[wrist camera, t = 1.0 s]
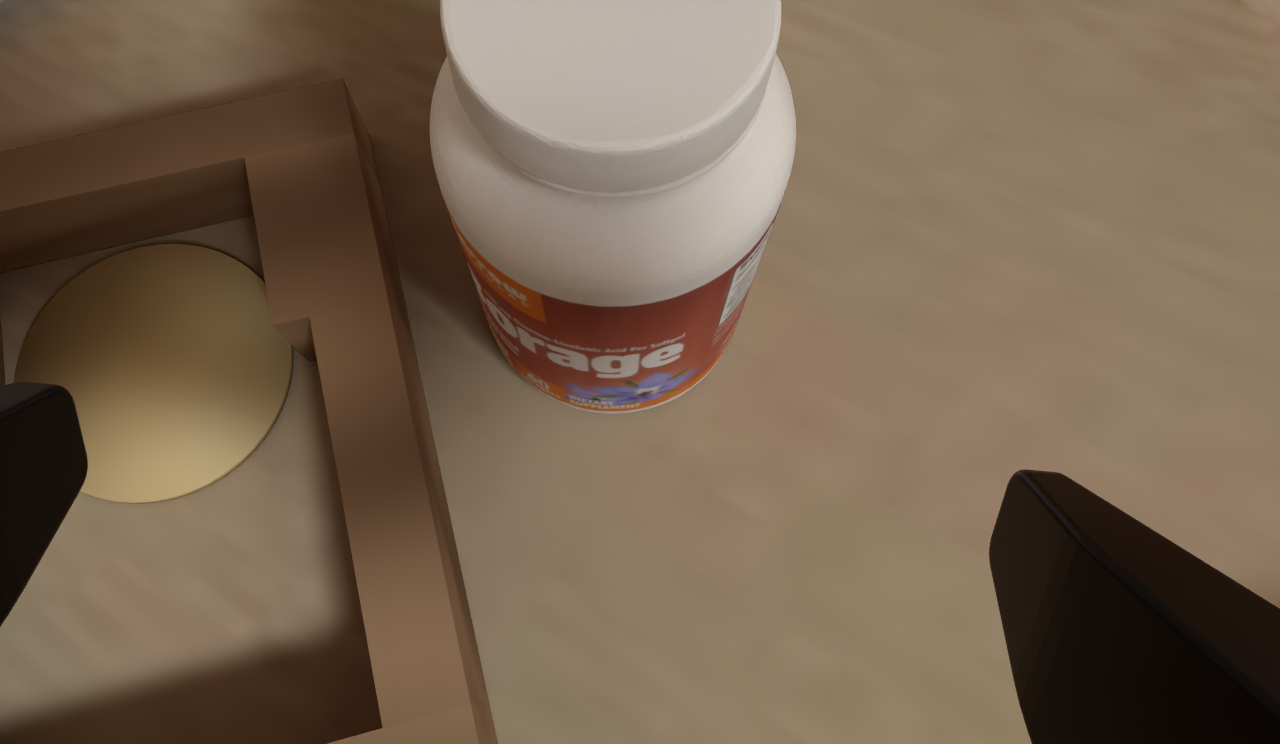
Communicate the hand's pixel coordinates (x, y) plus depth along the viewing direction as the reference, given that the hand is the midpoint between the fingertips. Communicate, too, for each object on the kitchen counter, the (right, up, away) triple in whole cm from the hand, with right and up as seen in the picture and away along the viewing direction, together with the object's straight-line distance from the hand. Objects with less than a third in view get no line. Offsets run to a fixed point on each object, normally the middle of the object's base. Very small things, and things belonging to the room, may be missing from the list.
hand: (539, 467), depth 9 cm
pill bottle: (0, +3, +14) cm, 15 cm away
